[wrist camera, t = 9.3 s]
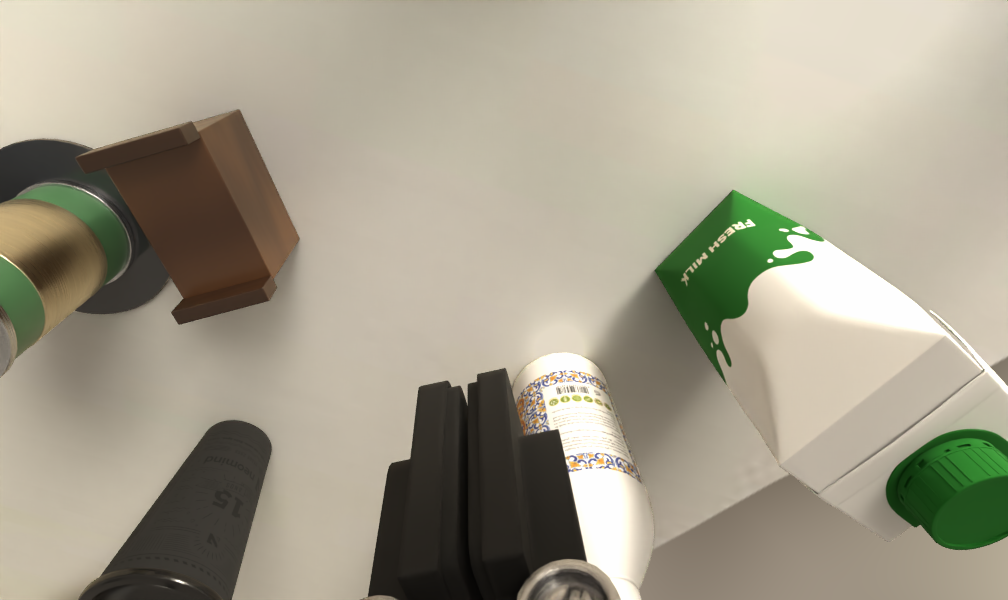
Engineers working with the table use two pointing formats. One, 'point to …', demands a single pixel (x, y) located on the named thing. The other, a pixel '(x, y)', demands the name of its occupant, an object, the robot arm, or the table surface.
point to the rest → (204, 210)
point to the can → (55, 258)
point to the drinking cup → (194, 524)
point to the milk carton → (846, 377)
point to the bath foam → (592, 463)
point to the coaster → (55, 160)
